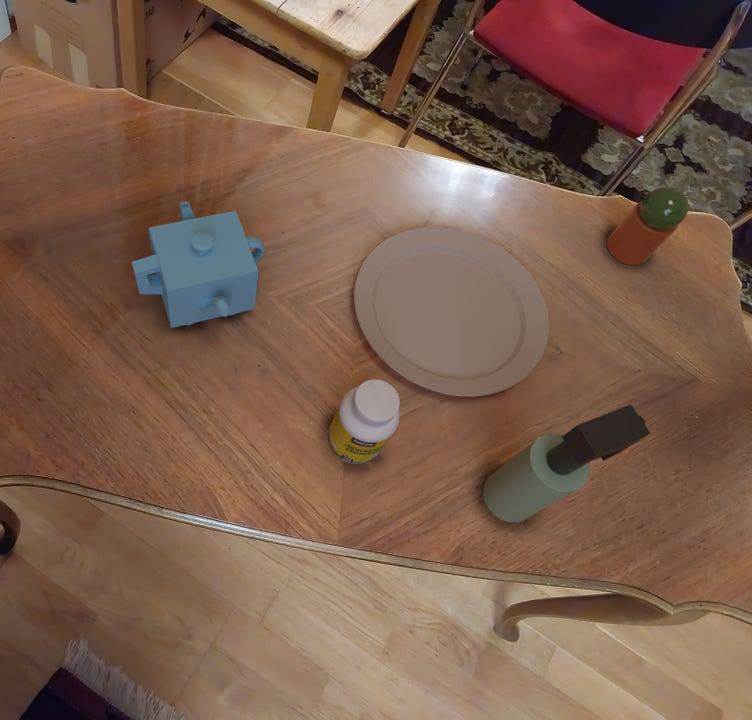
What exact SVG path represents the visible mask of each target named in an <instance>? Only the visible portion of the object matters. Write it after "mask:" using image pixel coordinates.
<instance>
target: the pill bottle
mask: <svg viewBox="0 0 752 720" xmlns="http://www.w3.org/2000/svg"><path fill="white" fill-rule="evenodd" d="M400 405H401V400H400V396H399V393H398V391H397V390H396V389H395V387H394V386H392V385H391V383H389V382H387V381H385V380H382V379H378V378H377V379H376V378H374V379H368V380H365V381H364V382H362V383H361V384H359V385H358V386H356V387H353V388H351V389H350V390H349V391H347V392H346V393H345V395H344V396H343V397H342V398H341V401H340V403H339V406H338V407H337V410H336V412H335V414H334V416H333V418H332V421H331V423H330V425H329V427H328V431H327V440H328V444H329V447H330V449H331V450H332V452H333V454H335V455H336V457H338V458H339V459H340V460H341V461H343V462H346V463H348V464H352V465H362V464H367V463H369V462H371V461H372V460H374V459H375V458H376V457H378V455H379V454H380V452H381V451H382V450H383V449H384V447H385V446H386V444H387V443H388V442H389V441H390V439H391V437H392V436H393V434H394V433H395V432H396V431H397V428H398V427H399V424H400V419H401V418H400V416H401V415H400V414H401V413H400Z"/></svg>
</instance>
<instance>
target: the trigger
mask: <svg viewBox="0 0 752 720" xmlns="http://www.w3.org/2000/svg"><path fill="white" fill-rule="evenodd" d="M640 441H641V440H639V441H637V442H636V443H634V444H632V445H630V446H628V447H625V448H623V449H620V450H618V451H615V452H613V453H611V454H608V455H606V456H603V457H601V458H600V459H601V460H602V461H606V460H609V459H611V458H614V457H615V456H616V455H618V454H620V453H622V452H623V451H625V450H626V449H629V448H630V447H631V446H633V445H635V444H637V443H638V442H640Z"/></svg>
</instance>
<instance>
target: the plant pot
mask: <svg viewBox="0 0 752 720" xmlns="http://www.w3.org/2000/svg"><path fill="white" fill-rule="evenodd" d="M689 205H690V204H689V201H688V198H687V196H686V194H684V192H682V191H681V190H679V189H677V188H675V187H670V186H663V187H659V188H655V189H654V190H652V191H650V192H648V193H647V194H646V195H645V196H644V197H643V199H642V200H640V201H639V202H637V203H636V204H635V205H634V207H633V208H632V209H631V210H630V211H629V212H628V213H627V215H626V216H625V217H624V218H623V219H622V220H621V221H620V223H619V224H618V225H617V226H616V227H615V229H614V230H613V231H612V232H611V233H610V234H609V236H607V239H606V248H607V250H608V252H609V254H610V255H611V256H612V257H613V258H614V259H615V260H617V261H619V262H620V263H621V264H625V265H628V266H639V265H641V264H644V263H645V262H646V261H647V260H648V259H649V258H651V256H652V255H653V254H654V253H655V252H656V251H657V250H658V249H659V248H660V247H661V246H662V245H663V244H664V243H665V242H666V241H667V240H668V239H669V238H670V237H671V236H672V235H673V234H674V233H675V232H676V231H677V230H678V228H679V225H681V223H683V222H684V220H685V219H686V218H687V216H688V213H689V207H690V206H689Z"/></svg>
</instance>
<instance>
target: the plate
mask: <svg viewBox="0 0 752 720" xmlns="http://www.w3.org/2000/svg"><path fill="white" fill-rule="evenodd" d="M353 306H354V310H355V311H354V312H355V315H356V318H357V322H358V324H359V327H360V329H361V333H362V334H363V336H364V338H365V339H366V341H367V343H368V345H369V346H370V347H371V348H372V350H373V351H374V352H375V353H376V355H377V356H378V357H379V358H380V359H381V360H382V361H383V363H385V364H386V365H387V366H388V367H389V368H391V369H392V370H393V371H395V372H396V373H397V374H398V375H399V376H402V377H403V378H405V379H407V380H408V381H409V382H412V383H414V384H416V385H417V386H420V387H422V388H423V389H424V388H425V389H428V390H430V391H433V392H436V393H440V394H444V395H449V396H456V397H481V396H482V397H483V396H488V395H489V396H490V395H494V394H496V393H500V392H502V391H503V392H504V391H505V390H508V389H511V388H512V387H514V386H515V385H517V384H519V383H521V382H522V381H523V380H524V379H526V378H527V377H528V376H529V375H530V374H531V373H532V372H533V371H534V370H535V369H536V367H537V365H539V363H540V361H541V360H542V358H543V355H544V354H545V351H546V348H547V345H548V341H549V333H550V318H549V313H548V307H547V304H546V301H545V298H544V295H543V293H542V291H541V288H540V287H539V285H538V283H537V282H536V280H535V279H534V277H533V275H531V273H530V272H529V271H528V269H527V268H526V267H525V266H524V265H523V264H522V263H521V262H520V261H519V260H518V259H517V258H516V257H514V256H513V254H511V252H509V251H507V250H506V249H504V248H503V247H502V246H501V245H499V244H497V243H495V242H494V241H491V240H489V239H487V238H485V237H484V236H481V235H479V234H476V233H473V232H470V231H467V230H463V229H458V228H453V227H447V226H423V227H422V226H421V227H416V228H411V229H407V230H404V231H400V232H399V233H396V234H394V235H392V236H390V237H388V238H387V239H385V240H383V241H381V243H379V244H377V246H375V247H374V248H373V249H372V250H371V251H370V253H369V254H368V255H367V256H366V257H365V259H364V261H363V262H362V263H361V266H360V268H359V270H358V272H357V275H356V278H355V281H354V290H353Z"/></svg>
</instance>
